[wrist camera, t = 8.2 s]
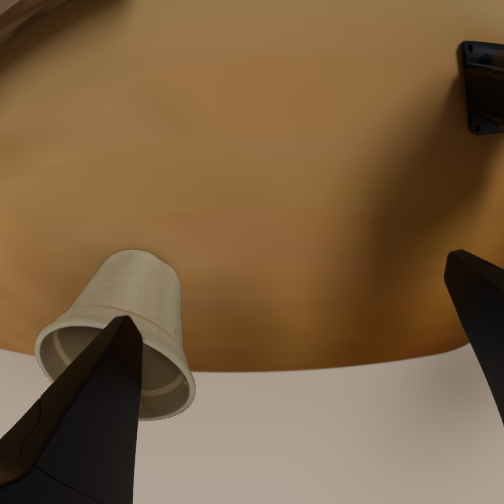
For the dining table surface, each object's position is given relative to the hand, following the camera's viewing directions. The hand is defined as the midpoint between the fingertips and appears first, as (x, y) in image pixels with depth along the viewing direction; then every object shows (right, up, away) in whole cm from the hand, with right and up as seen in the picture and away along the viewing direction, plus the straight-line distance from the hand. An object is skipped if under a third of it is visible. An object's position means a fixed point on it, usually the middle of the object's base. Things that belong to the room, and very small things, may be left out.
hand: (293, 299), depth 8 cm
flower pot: (-9, -1, +15) cm, 17 cm away
